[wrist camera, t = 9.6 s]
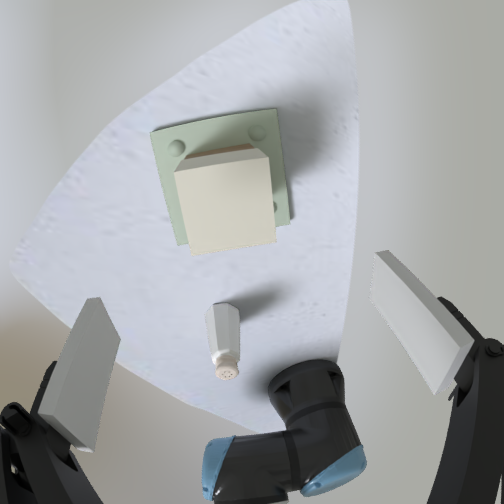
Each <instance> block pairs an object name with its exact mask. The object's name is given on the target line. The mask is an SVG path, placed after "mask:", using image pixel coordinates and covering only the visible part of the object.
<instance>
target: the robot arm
mask: <svg viewBox="0 0 504 504" xmlns="http://www.w3.org/2000/svg"><path fill="white" fill-rule="evenodd" d="M369 299H370V300H371V302H372V303H373V304H374V306H375V307H376V308H377V310H378V311H379V313H380V314H381V315H382V317H383V318H384V320H385V321H386V323H387V324H388V326H389V327H390V328H391V330H392V331H393V333H394V334H395V335H396V337H397V338H398V340H399V341H400V343H401V344H402V346H403V347H404V349H405V350H406V352H407V353H408V355H409V356H410V358H411V359H412V361H413V362H414V364H415V366H416V367H417V369H418V370H419V372H420V373H421V375H422V376H423V378H424V380H425V381H426V383H427V384H428V386H429V387H430V389H431V391H432V392H433V394H434V395H436V394H437V393H440V392H441V391H443V390H445V389H447V388H449V386H450V384H451V383H452V381H453V379H454V380H455V381H456V383H457V385H456V387H455V389H454V390H453V392H452V393H451V394H450V396H449V399H448V400H449V401H450V400H451V399H452V397H453V396H454V399H453V406H452V412H451V417H450V423H449V428H448V432H447V437H446V441H445V446H444V450H443V454H442V457H441V461H440V465H439V468H438V472H437V475H436V478H435V481H434V484H433V487H432V490H431V493H430V496H429V499H428V502H427V504H495V500H496V496H497V492H498V488H499V483H500V478H501V476H502V486H501V487H502V488H501V490H502V491H501V504H504V345H502V343H500V342H499V341H498V340H495V339H492V338H488V339H484V338H483V337H482V336H481V334H480V333H479V332H478V331H477V330H476V329H475V328H474V326H473V325H472V324H471V323H470V322H469V321H468V320H467V319H466V318H465V317H464V316H463V314H462V313H461V312H460V311H458V309H457V308H456V307H455V306H454V305H453V304H452V303H451V302H450V301H448V300H446V299H445V298H443V297H438V298H436V297H435V296H434V295H433V294H432V293H431V292H430V291H429V290H428V289H427V288H426V287H425V285H423V283H422V282H420V280H419V279H417V277H416V276H415V275H414V274H413V273H412V272H410V270H408V269H407V268H406V267H405V266H404V265H403V264H402V263H401V262H400V261H399V260H398V259H397V258H396V257H395V256H394V255H393V254H392V253H391V252H389V250H386V251H381V252H376V253H375V258H374V268H373V275H372V283H371V291H370V297H369ZM120 340H121V339H120V337H119V335H118V333H117V331H116V329H115V327H114V325H113V323H112V321H111V319H110V317H109V315H108V313H107V311H106V309H105V307H104V304H103V302H102V300H101V298H100V297H98V298H90V299H87V300H86V302H85V304H84V306H83V308H82V310H81V312H80V314H79V316H78V318H77V320H76V322H75V324H74V326H73V328H72V330H71V332H70V335H69V337H68V339H67V341H66V343H65V345H64V347H63V350H62V352H61V354H60V356H59V359H58V361H53V363H52V364H51V365H50V366H49V367H48V369H47V370H46V372H45V375H44V377H43V381H42V382H41V385H40V389H39V390H38V392H37V395H36V397H35V400H34V403H33V405H32V408H31V411H30V414H29V413H28V412H27V411H26V410H25V409H24V408H23V407H22V406H21V405H20V404H19V403H17V402H12V403H10V404H8V405H7V406H5V407H4V409H3V410H2V412H1V415H0V424H1V425H2V426H4V427H5V428H6V429H3V428H2V427H1V426H0V504H103V502H102V501H101V499H100V498H99V497H98V495H97V493H96V492H95V490H94V489H93V487H92V485H91V484H90V482H89V481H88V479H87V477H86V476H85V474H84V472H83V470H82V469H81V467H80V465H79V463H78V461H77V459H76V458H75V456H74V454H73V453H72V451H71V450H70V445H71V444H72V445H73V446H74V447H76V448H77V449H78V450H81V451H87V452H94V449H95V444H96V439H97V434H98V429H99V424H100V418H101V414H102V409H103V405H104V401H105V396H106V392H107V388H108V384H109V380H110V376H111V372H112V369H113V365H114V361H115V358H116V354H117V351H118V347H119V344H120ZM344 390H345V389H344V377H343V374H342V372H341V370H340V368H339V366H338V365H337V364H335V363H333V362H331V361H326V360H313V361H307V362H303V363H299V364H297V365H294V366H292V367H289V368H288V369H286V370H284V371H282V372H281V373H280V374H278V375H277V376H276V377H275V378H274V379H273V380H272V382H271V383H270V385H269V388H268V393H269V397H270V401H271V404H272V405H273V407H274V408H275V410H276V411H277V413H278V414H279V416H280V417H281V418H282V420H283V421H284V423H285V426H286V430H285V431H278V432H272V433H264V434H256V435H246V436H236V435H234V436H232V437H226V438H217V439H213V440H211V441H210V442H209V443H208V444H207V446H206V448H205V452H204V457H203V465H202V485H203V495H204V497H205V499H207V500H210V501H213V500H214V504H287V503H288V502H289V500H288V495H287V492H291V491H296V490H300V493H301V494H302V495H303V496H304V497H310V496H315V495H319V494H322V493H325V492H328V491H330V490H333V489H335V488H337V487H340V486H341V485H344V484H346V483H347V482H349V481H351V480H353V479H354V478H356V477H357V476H359V474H361V473H362V472H363V471H364V470H365V468H366V465H367V461H366V457H365V454H364V451H363V445H362V444H361V442H360V440H359V437H358V435H357V432H356V430H355V427H354V425H353V423H352V420H351V417H350V415H349V413H348V410H347V408H346V405H345V391H344ZM11 466H13V467H14V468H15V473H13V472H12V470H11Z"/></svg>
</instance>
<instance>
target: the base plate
mask: <svg viewBox="0 0 504 504" xmlns="http://www.w3.org/2000/svg"><path fill="white" fill-rule="evenodd" d="M150 137H151V142H152V146H153V151H154V155H155V160H156V164H157V168H158V173H159V177H160V181H161V185H162V189H163V193H164V197H165V201H166V205H167V208H168V212H169V216H170V220H171V223H172V227H173V231H174V234H175V238H176V241H177V245H178V246H179V245H184V244H189V242H188V238H187V233H186V229H185V225H184V220H183V215H182V211H181V206H180V201H179V196H178V192H177V187H176V182H175V177H174V171H175V169H176V168H177V166H178V165H179V163H180V162H181V160H184V158H185V157H186V155H190V154H195V153H200V152H205V151H209V150H215V149H220V148H225V147H231V146H236V145H242V144H248V143H250V144H251V145H252V146H253V147H254V148H258V149H259V150H261V151H262V152H263V153H264V154H265V155H267V156H268V157H269V165H270V175H271V185H272V196H273V207H274V218H275V227H278V226H283V225H289V224H290V215H289V205H288V196H287V187H286V178H285V170H284V162H283V153H282V146H281V138H280V130H279V123H278V116H277V109H268V110H260V111H253V112H246V113H239V114H233V115H227V116H221V117H216V118H211V119H205V120H200V121H196V122H191V123H186V124H182V125H178V126H173V127H169V128H165V129H161V130H157V131H154V132H150Z"/></svg>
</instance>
